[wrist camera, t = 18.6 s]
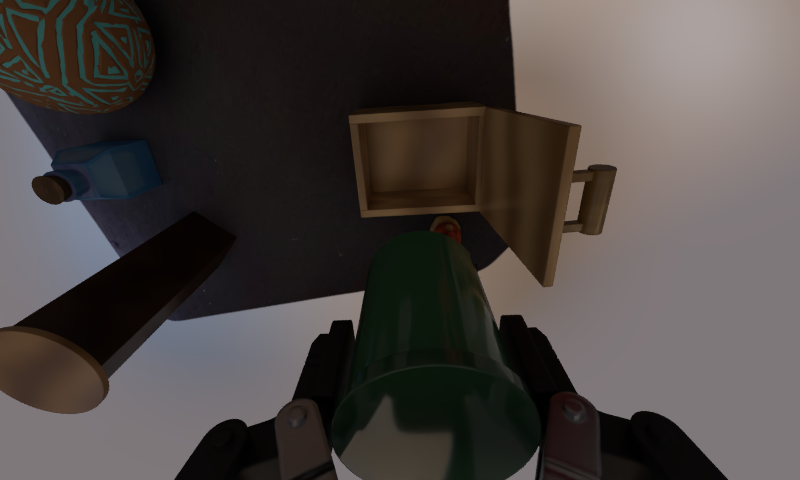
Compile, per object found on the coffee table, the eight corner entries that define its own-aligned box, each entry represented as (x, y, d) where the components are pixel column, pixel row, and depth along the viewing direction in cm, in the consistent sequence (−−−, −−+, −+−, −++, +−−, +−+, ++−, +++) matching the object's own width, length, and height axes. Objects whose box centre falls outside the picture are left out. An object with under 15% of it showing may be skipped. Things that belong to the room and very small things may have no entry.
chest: (367, 196, 47) (361, 217, 40) (358, 108, 41) (348, 115, 34) (470, 190, 46) (482, 211, 39) (474, 101, 41) (488, 106, 34)
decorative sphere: (21, -2, 37) (-199, -47, 23) (122, -69, 34) (-62, -164, 21) (118, 126, 43) (-12, 149, 30) (210, 78, 40) (113, 79, 27)
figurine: (457, 209, 47) (472, 247, 37) (467, 241, 50) (484, 285, 39) (416, 222, 48) (419, 263, 38) (428, 253, 51) (434, 300, 40)
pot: (504, 271, 17) (588, 433, 9) (427, 340, 19) (442, 516, 11) (414, 200, 15) (423, 326, 7) (340, 285, 17) (290, 448, 10)
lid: (542, 287, 25) (608, 280, 25) (569, 126, 19) (651, 119, 20) (480, 212, 39) (522, 209, 39) (485, 106, 33) (534, 103, 34)
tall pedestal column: (250, 236, 50) (118, 370, 27) (222, 278, 54) (86, 428, 31) (187, 197, 47) (-16, 310, 24) (163, 244, 51) (-34, 381, 28)
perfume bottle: (162, 184, 46) (90, 216, 36) (120, 185, 47) (36, 218, 36) (145, 139, 44) (61, 160, 33) (101, 141, 44) (2, 162, 33)
